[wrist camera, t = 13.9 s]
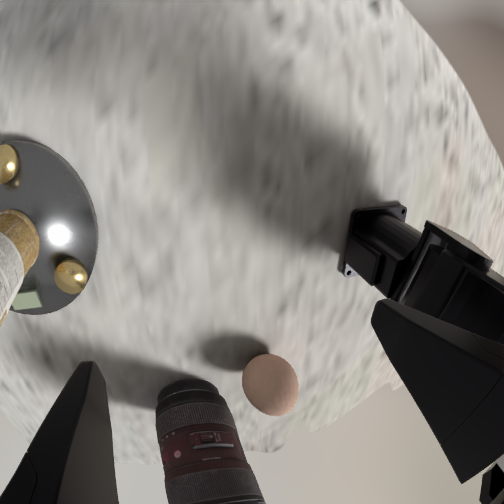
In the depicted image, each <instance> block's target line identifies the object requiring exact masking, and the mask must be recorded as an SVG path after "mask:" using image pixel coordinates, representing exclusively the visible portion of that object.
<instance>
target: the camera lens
mask: <svg viewBox="0 0 504 504" xmlns="http://www.w3.org/2000/svg"><path fill="white" fill-rule="evenodd" d="M156 431H157V438H158V443H159V446H160V452H161V458H162V463H163V466H164V467H163V468H164V472H165V488H166V494H167V499H168V502H169V504H265V502H264V498H263V496H262V493H261V491H260V488H259V485H258V483H257V480H256V477H255V475H254V473H253V471H252V469H251V467H250V465H249V464H248V463H247V460H246V457H245V454H244V451H243V448H242V445H241V443H240V440H239V436H238V433H237V428H236V425H235V422H234V419H233V416H232V414H231V412H230V410H229V408H228V406H227V403H226V401H225V399H224V398H223V397H222V396H221V395H219V392H218V390H217V388H216V387H215V386H214V385H213V384H211V383H209V382H206V381H203V380H183V381H178V382H175V383H172V384H170V385H168V386H167V387H165V388H164V389H163V390H162V391H161V392H160V394H159V396H158V406H157V407H156Z"/></svg>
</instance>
